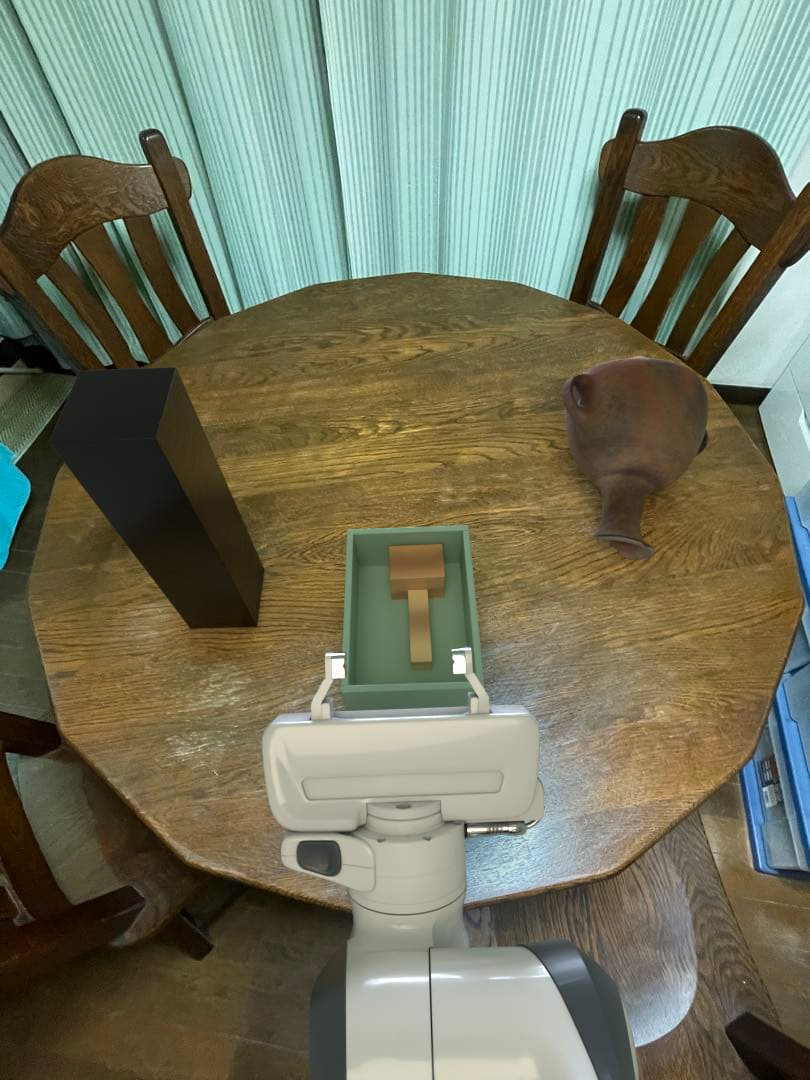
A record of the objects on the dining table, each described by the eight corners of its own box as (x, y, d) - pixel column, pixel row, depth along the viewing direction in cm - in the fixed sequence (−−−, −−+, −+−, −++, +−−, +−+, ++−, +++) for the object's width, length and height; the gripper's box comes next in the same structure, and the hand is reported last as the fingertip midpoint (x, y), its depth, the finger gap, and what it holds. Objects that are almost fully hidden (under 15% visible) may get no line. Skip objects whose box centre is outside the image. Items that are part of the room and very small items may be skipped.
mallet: (449, 668, 73) (451, 650, 69) (393, 671, 73) (391, 653, 69) (441, 565, 82) (442, 543, 77) (390, 568, 82) (388, 545, 77)
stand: (257, 626, 79) (155, 438, 49) (190, 629, 79) (48, 442, 49) (264, 569, 84) (176, 366, 54) (201, 571, 84) (79, 370, 54)
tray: (478, 715, 71) (484, 688, 64) (349, 719, 72) (340, 692, 64) (464, 564, 84) (468, 525, 76) (354, 567, 84) (347, 529, 76)
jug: (575, 406, 100) (545, 565, 89) (572, 318, 84) (535, 499, 72) (707, 411, 93) (693, 584, 82) (732, 315, 76) (720, 517, 65)
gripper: (557, 854, 40) (546, 650, 41) (258, 865, 40) (254, 661, 41) (536, 816, 47) (527, 640, 48) (278, 827, 47) (274, 650, 47)
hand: (398, 650), depth 44 cm, fingers open, 8 cm apart
